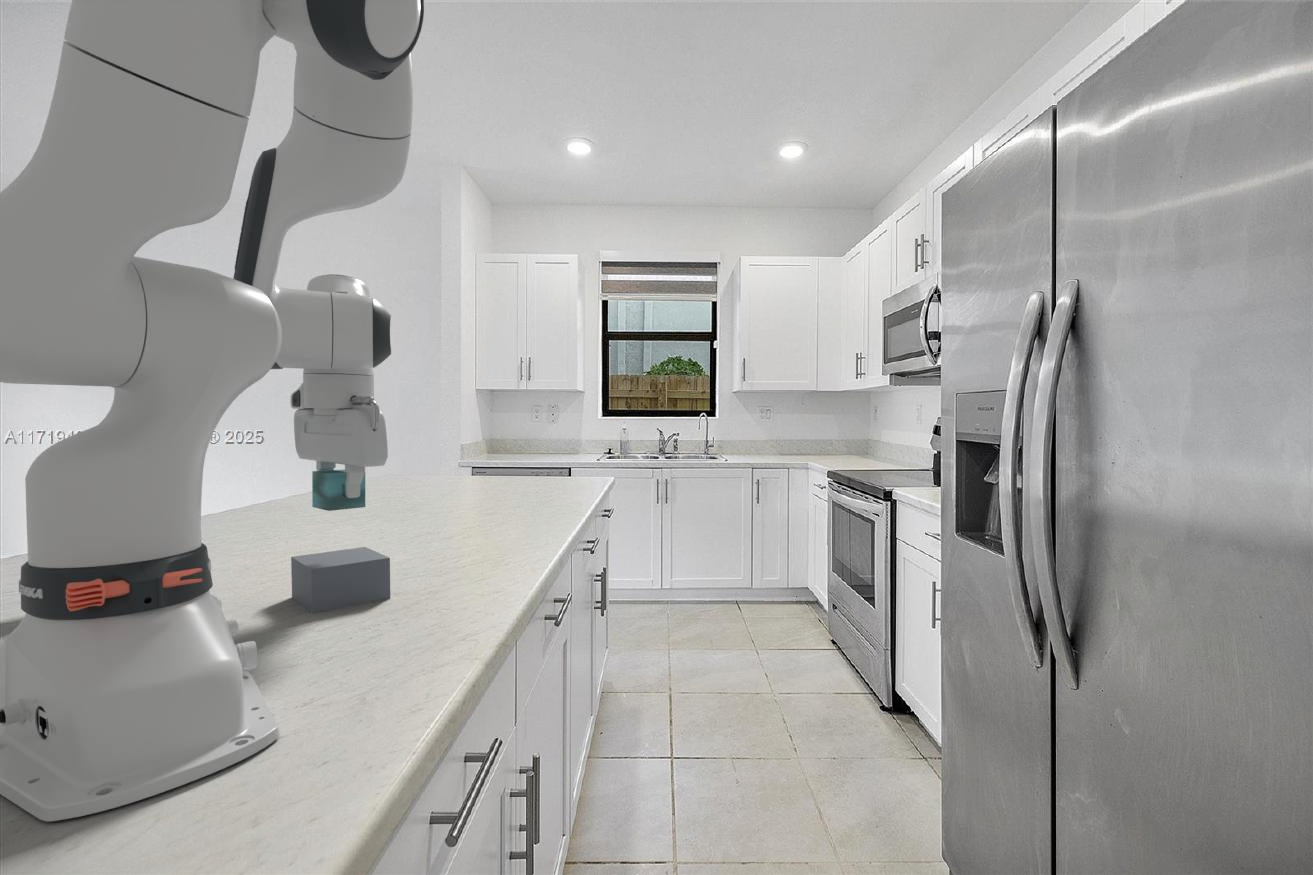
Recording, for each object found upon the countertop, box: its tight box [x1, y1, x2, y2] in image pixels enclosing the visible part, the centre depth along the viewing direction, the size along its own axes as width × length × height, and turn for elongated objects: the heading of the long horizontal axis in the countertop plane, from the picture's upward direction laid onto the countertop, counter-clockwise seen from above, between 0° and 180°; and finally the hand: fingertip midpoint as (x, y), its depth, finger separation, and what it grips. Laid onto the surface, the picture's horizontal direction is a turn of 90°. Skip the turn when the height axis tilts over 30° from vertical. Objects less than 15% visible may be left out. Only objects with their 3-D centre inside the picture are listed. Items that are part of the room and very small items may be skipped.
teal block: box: [311, 468, 366, 512], centre depth 89 cm, size 5×5×5 cm
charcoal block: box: [290, 546, 391, 614], centre depth 90 cm, size 10×10×6 cm
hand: (340, 495), depth 89 cm, fingers closed on teal block, 5 cm apart
